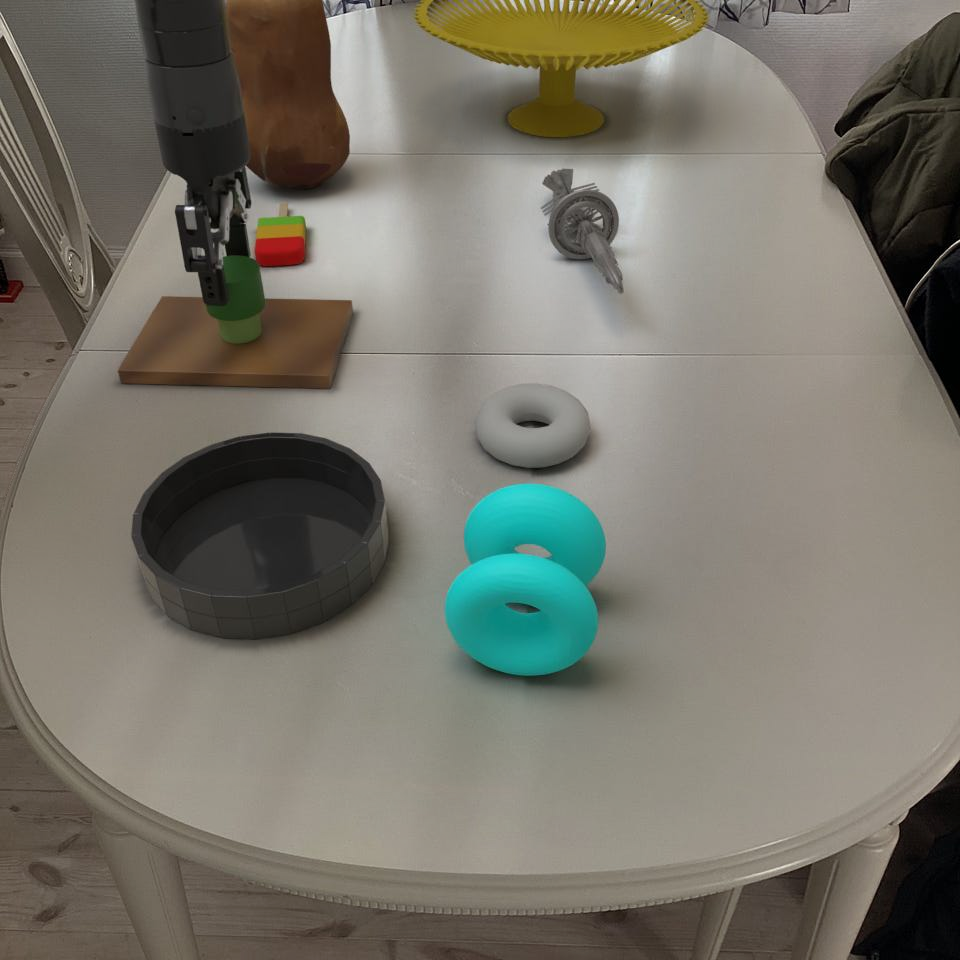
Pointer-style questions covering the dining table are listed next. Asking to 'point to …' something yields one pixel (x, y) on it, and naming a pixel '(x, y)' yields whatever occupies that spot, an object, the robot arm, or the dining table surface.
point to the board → (240, 346)
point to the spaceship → (583, 224)
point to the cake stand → (560, 48)
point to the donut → (532, 443)
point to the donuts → (527, 581)
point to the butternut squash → (288, 91)
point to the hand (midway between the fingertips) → (228, 281)
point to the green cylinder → (240, 301)
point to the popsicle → (280, 239)
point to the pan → (261, 535)
